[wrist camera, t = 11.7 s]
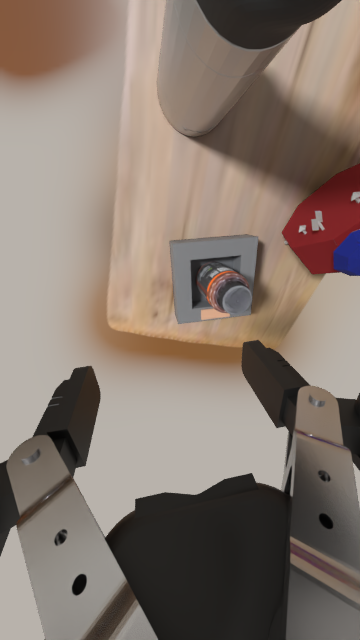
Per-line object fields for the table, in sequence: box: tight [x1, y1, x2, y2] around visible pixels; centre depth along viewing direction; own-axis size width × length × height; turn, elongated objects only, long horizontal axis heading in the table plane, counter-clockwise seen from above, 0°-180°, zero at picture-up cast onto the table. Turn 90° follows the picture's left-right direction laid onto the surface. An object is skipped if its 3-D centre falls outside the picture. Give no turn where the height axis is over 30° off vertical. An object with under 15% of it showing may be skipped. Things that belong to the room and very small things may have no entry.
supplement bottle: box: [196, 262, 252, 315], centre depth 32 cm, size 6×6×11 cm
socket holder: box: [170, 234, 258, 324], centre depth 36 cm, size 13×13×4 cm
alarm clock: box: [282, 164, 360, 276], centre depth 27 cm, size 15×9×20 cm, turn 139°
